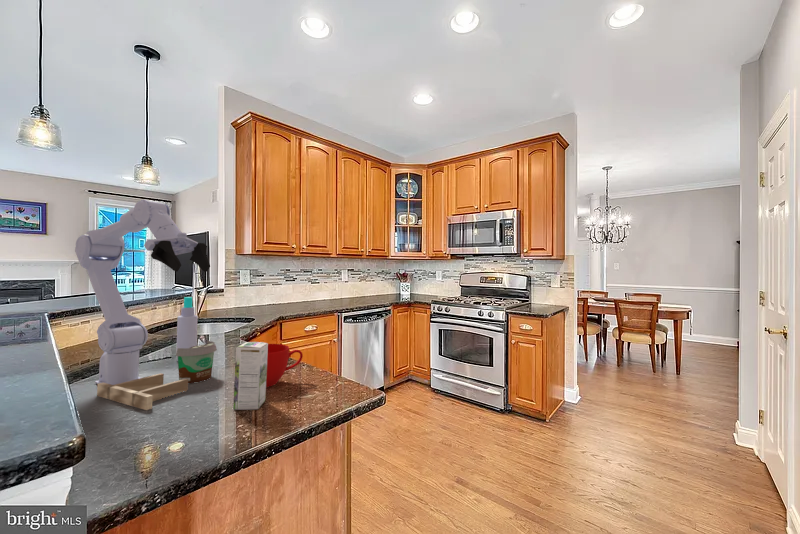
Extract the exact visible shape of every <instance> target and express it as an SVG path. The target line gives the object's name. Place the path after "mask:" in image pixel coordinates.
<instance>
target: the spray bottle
mask: <svg viewBox="0 0 800 534" xmlns="http://www.w3.org/2000/svg"><path fill="white" fill-rule="evenodd" d="M176 325H177V326H176V328H177V329H176V352H177V349H178V348H190V347H193V346H198V315H196V314H195V307H194V306H193V297H192V296H184V297H183V306H182V307H181V312H180V315H177V324H176ZM175 356H176V355H175ZM175 359H176V360H175V361H176V362H178V356H176V357H175Z"/></svg>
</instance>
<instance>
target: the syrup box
mask: <svg viewBox="0 0 800 534" xmlns="http://www.w3.org/2000/svg"><path fill="white" fill-rule="evenodd" d="M268 344H269V343H268V342H263V341H262V342H261V341H260V342H259V341H250V342H249V341H247V342H243V343H242V344H240V345H238V346H236V348H235V363H234V364H235V365H234V383H233V384H234V386H233V391H234V392H233V403H232V404H233V407H232V409H233V410H234V411H236V410H237V411H239V410H241V411H243V410H244V411H245V410H250V411H251V410H259V409H260V408H261V407H262V406H263V404H264V403H265V402H266V396H267V387H266V379H267V355H268Z"/></svg>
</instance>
